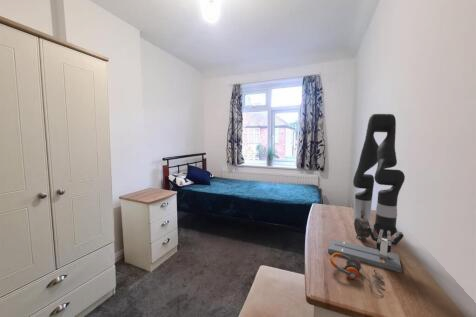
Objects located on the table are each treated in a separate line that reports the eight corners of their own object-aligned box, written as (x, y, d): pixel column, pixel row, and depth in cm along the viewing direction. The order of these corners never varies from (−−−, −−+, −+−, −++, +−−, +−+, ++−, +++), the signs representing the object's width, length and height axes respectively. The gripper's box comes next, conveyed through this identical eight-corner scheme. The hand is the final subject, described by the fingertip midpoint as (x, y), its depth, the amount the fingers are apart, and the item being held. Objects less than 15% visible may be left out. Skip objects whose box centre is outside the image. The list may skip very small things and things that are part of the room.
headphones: (388, 293, 70) (327, 260, 81) (382, 306, 71) (323, 271, 82) (388, 269, 83) (336, 243, 94) (383, 280, 84) (333, 253, 95)
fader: (378, 252, 96) (379, 237, 95) (386, 254, 94) (387, 238, 94) (379, 257, 92) (380, 241, 91) (387, 259, 90) (388, 243, 90)
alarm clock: (370, 243, 109) (372, 213, 108) (358, 242, 110) (360, 212, 109) (362, 234, 120) (363, 207, 118) (351, 233, 121) (353, 206, 119)
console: (331, 242, 110) (331, 238, 110) (397, 258, 95) (397, 254, 95) (327, 252, 100) (328, 248, 100) (401, 272, 85) (401, 267, 85)
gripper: (404, 214, 91) (401, 252, 92) (367, 208, 98) (365, 243, 100) (407, 220, 85) (404, 260, 86) (367, 213, 92) (364, 250, 93)
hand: (383, 251), depth 93 cm, fingers closed on fader, 2 cm apart
